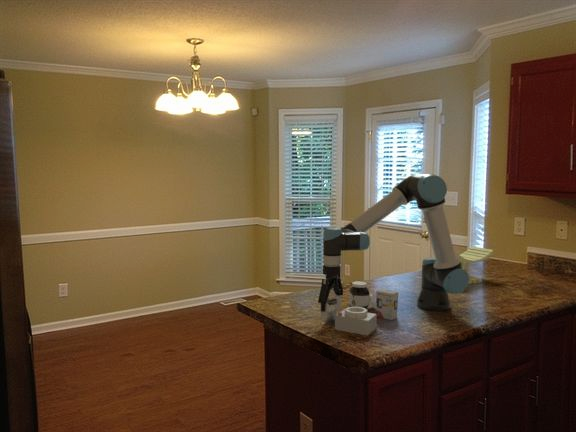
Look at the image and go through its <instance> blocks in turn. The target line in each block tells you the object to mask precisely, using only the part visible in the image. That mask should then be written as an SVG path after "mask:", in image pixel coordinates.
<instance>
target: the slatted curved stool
mask: <svg viewBox="0 0 576 432" xmlns="http://www.w3.org/2000/svg"><path fill="white" fill-rule="evenodd" d="M492 255H494V249H489V248H485V247H484V248H483V247H478V246H471V247H469V248H468V249H467V250H465V251H464V252H462V253H461V254H456V253H455V257H456V258H458V259H460V262H461V265H462V269H464V270H465V269H466V267H467V264H473V263H477V262H484V260H487V258H490V257H491V256H492ZM465 271H466V270H465ZM468 275H469V285H472V284H471V283H474V284H477V283H478V282H479V283H483V280H482V278H479V277H476V276H473V275H470V274H469V273H468ZM476 282H477V283H476Z"/></svg>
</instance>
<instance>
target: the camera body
mask: <svg viewBox="0 0 576 432" xmlns="http://www.w3.org/2000/svg"><path fill="white" fill-rule="evenodd" d="M368 310H369V309H367V308H366V309H365V308H362V307H351V306H348V307H346V308H344V309H343V310H340V311H339V312H338V313H336V315H335V324H334V330H335V331H340V332H347V333H352V334H355V335H356V334H358V335H362V336H369V335H371V334H372V333H373V332H374V331H375V330H376V329H377V319H378V317H377V314H375V313H373V312H372V313H371V312H368Z"/></svg>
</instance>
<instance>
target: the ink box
mask: <svg viewBox="0 0 576 432" xmlns="http://www.w3.org/2000/svg"><path fill="white" fill-rule="evenodd" d="M375 295H376V296H375V304H376V308H375V310H374V311H375V313H374V314H377V318H381V319H386V320H390V321H393V320H395V319H396V320H397V318H398V304H399V291H395V290H391V289H387V288H380V289H378V290H376V293H375Z"/></svg>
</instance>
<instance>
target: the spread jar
mask: <svg viewBox="0 0 576 432" xmlns="http://www.w3.org/2000/svg"><path fill="white" fill-rule="evenodd" d="M348 290H349V291H348V302H349V307H362V308H365V309H367V308H368V307H369V306H370V304H371V306H372V308H373V309H375V310H376V300H375V299H374V296H373V294H372V293H370V291H369V288H368V283H367V282H365V281H357V280H356V281H352V282H351V287H349V289H348Z"/></svg>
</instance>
